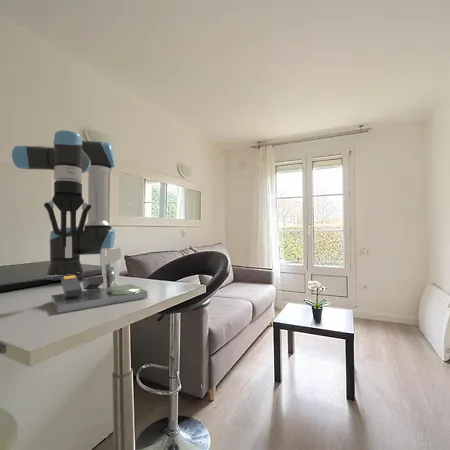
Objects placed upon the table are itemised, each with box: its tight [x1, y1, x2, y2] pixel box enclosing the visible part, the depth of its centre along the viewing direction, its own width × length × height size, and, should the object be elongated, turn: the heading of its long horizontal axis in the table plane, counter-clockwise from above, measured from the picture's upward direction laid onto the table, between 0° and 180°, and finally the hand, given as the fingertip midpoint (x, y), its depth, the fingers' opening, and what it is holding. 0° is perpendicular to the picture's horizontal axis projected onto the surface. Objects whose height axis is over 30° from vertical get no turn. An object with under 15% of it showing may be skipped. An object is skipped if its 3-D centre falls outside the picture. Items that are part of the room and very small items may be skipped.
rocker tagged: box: [60, 275, 83, 297], centre depth 80 cm, size 9×4×2 cm, turn 38°
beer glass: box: [99, 247, 122, 288], centre depth 96 cm, size 7×7×15 cm
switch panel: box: [50, 284, 148, 314], centre depth 82 cm, size 15×24×3 cm, turn 128°
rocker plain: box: [82, 275, 104, 291], centre depth 83 cm, size 9×4×2 cm, turn 38°
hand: (68, 257), depth 83 cm, fingers closed
